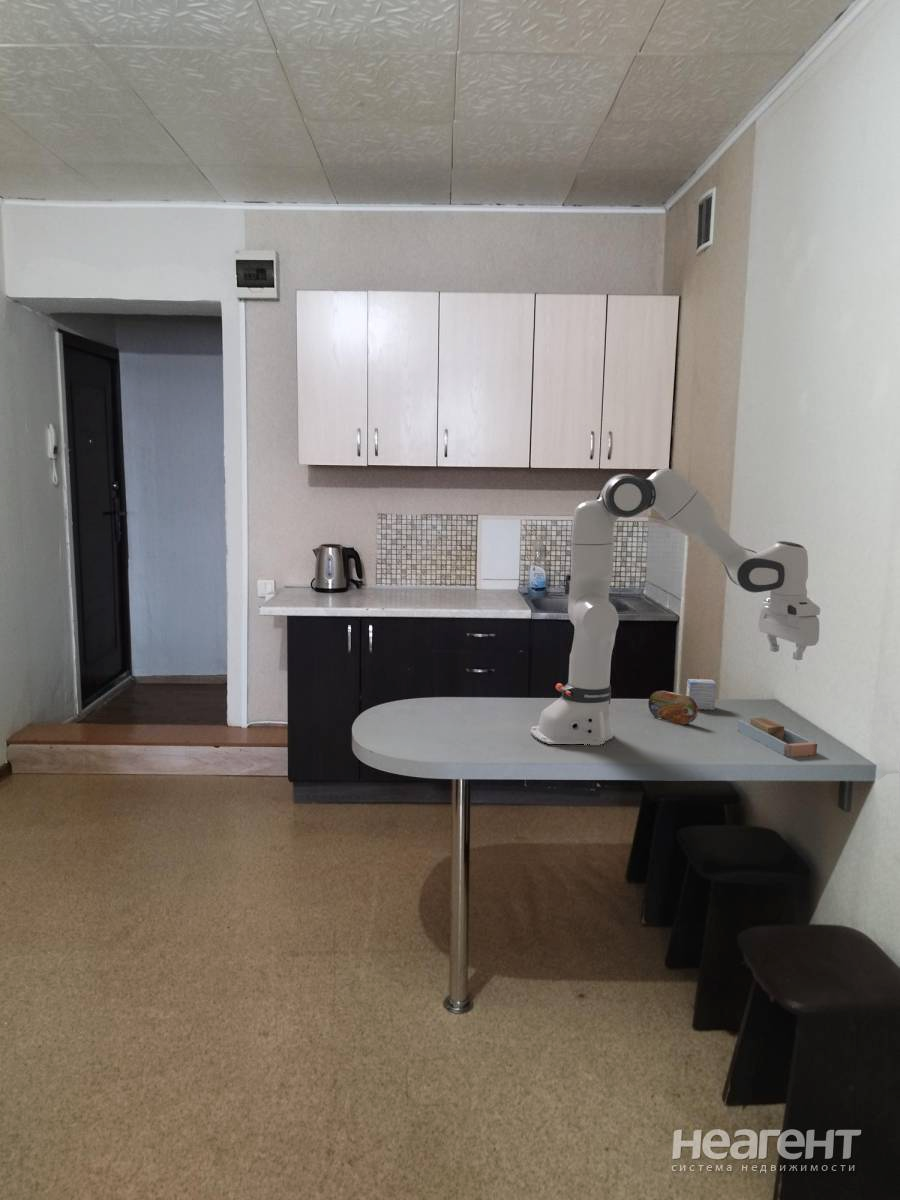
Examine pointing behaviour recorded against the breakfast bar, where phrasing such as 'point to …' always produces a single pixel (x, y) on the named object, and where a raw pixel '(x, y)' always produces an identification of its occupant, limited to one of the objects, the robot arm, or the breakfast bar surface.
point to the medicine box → (702, 692)
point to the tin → (673, 707)
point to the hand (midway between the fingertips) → (785, 655)
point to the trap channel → (794, 749)
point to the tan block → (769, 727)
